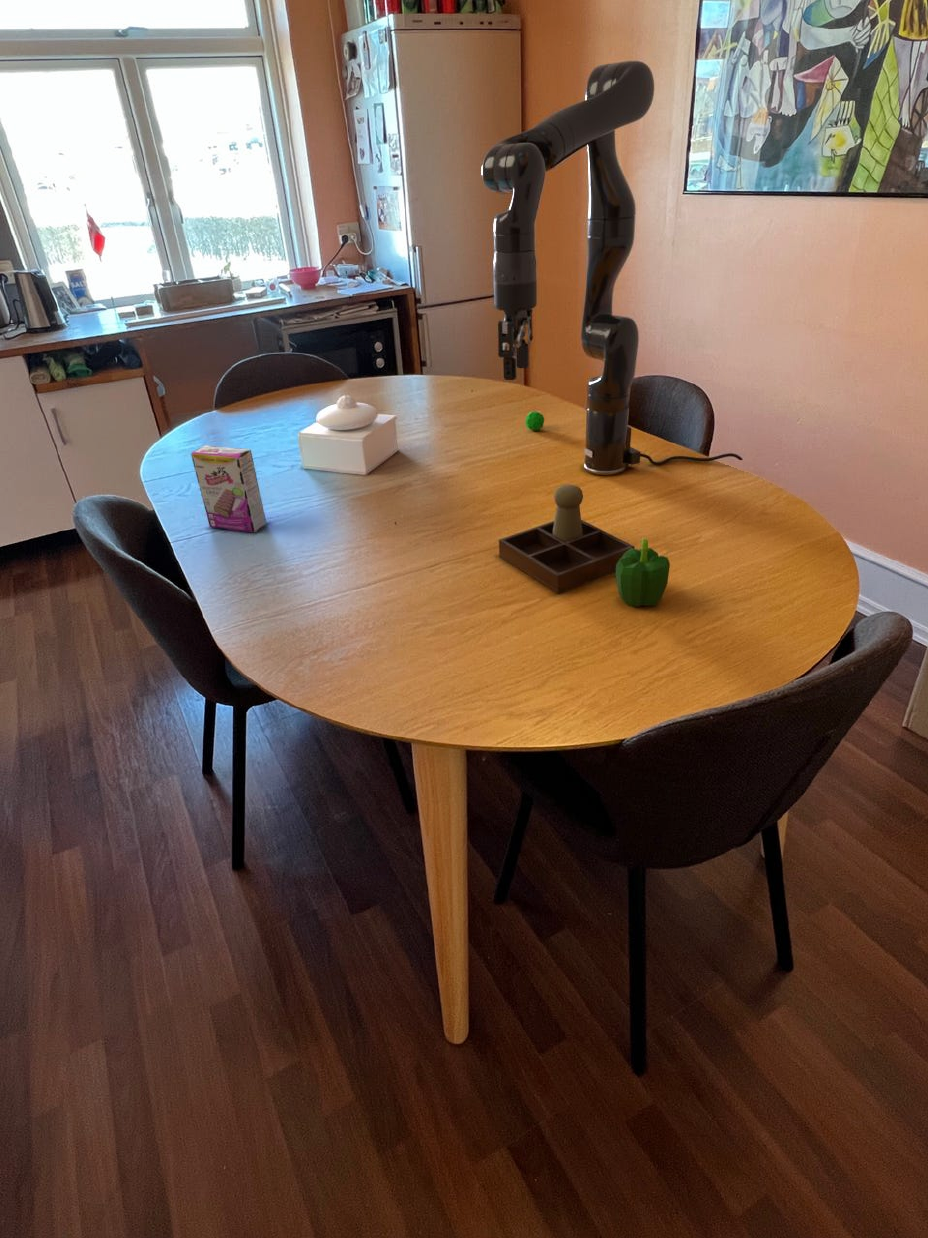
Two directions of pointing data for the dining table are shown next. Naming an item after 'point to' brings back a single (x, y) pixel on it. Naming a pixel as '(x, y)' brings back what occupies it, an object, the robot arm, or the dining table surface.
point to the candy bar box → (229, 488)
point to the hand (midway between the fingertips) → (516, 373)
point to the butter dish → (348, 438)
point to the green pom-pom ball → (534, 420)
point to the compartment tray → (563, 555)
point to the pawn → (568, 512)
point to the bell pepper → (642, 576)
